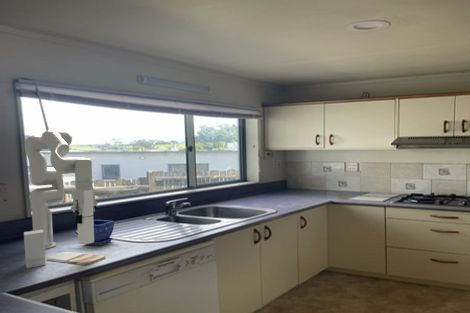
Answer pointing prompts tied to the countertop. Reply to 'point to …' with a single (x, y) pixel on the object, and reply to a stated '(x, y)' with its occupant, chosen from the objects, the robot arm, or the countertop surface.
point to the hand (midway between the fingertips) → (85, 221)
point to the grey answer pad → (64, 256)
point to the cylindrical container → (86, 220)
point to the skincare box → (34, 248)
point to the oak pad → (86, 259)
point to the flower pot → (102, 232)
